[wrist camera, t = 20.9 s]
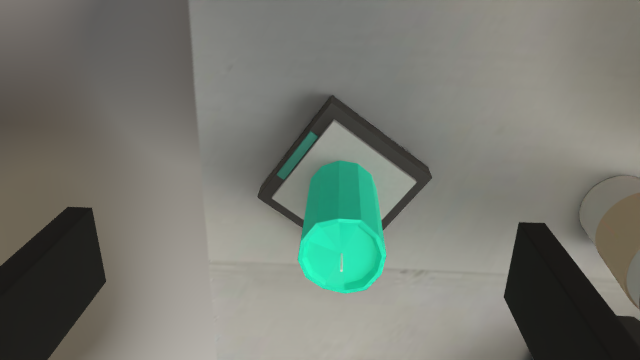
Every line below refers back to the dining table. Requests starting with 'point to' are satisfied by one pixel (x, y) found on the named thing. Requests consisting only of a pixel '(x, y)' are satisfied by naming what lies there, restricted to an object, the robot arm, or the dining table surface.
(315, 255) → the candle
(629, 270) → the coffee cup
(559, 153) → the dining table surface
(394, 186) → the scale
